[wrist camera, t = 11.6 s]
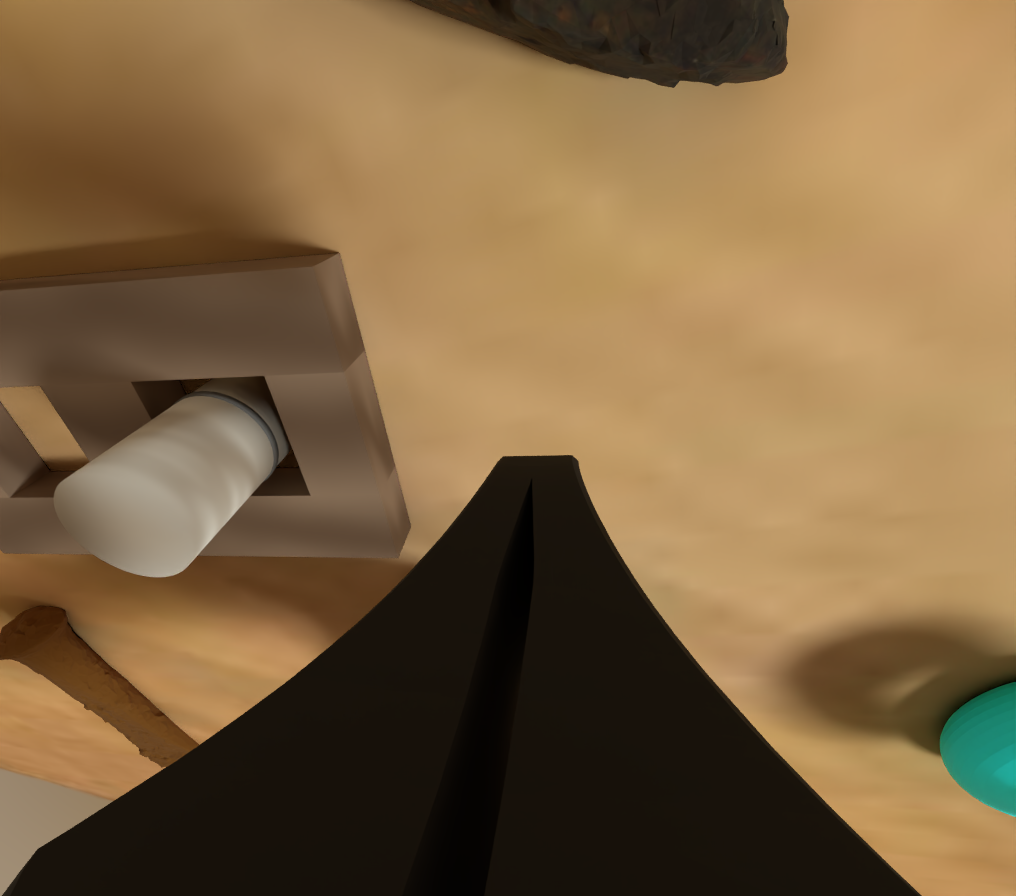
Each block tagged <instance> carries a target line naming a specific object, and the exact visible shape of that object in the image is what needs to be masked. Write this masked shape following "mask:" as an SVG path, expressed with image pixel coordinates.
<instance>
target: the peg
mask: <svg viewBox="0 0 1016 896" xmlns="http://www.w3.org/2000/svg"><path fill="white" fill-rule="evenodd" d="M291 450H292V446H291V444H290V441H289V439H288V436H287V433H286V431H285V428H284V426H283V423H282V421H281V418H280V415H279V413H278V410H277V408H276V405H275V403H274V400H273V397H272V395H271V392H270V390H269V387H268V385H267V382H266V379H265V377H264V376H249V377H227V378H213V379H211V380H210V381H208V382H207V383H205V384H204V385H202V386H201V387H199V388H198V389H196V390H195V391H194V392H192V393H189V394H187V395H185V396H183V397H182V398H181V399H179V400H178V401H176V402H175V403H174V404H173V405H172V406H171V407H170V408H169V409H167V410H166V411H164V412H163V413H161V414H160V415H158V416H157V417H155V418H154V419H152V420H151V421H149V422H148V423H146V424H145V425H144V426H142V427H141V428H139V429H138V430H136V431H135V432H133V433H132V434H130V435H129V436H127V437H126V438H124V439H123V440H122V441H120V442H119V443H117V444H116V445H114V446H113V447H111V448H110V449H108V450H107V451H105V452H104V453H102V454H101V455H99V456H98V457H97V458H95V459H94V460H92V461H91V462H89V463H88V464H86V465H85V466H83V467H82V468H80V469H79V470H77V471H76V472H74V473H73V474H72V475H70V476H69V477H67V478H66V479H64V480H63V481H62V482H60V484H59V485H58V486H57V488H56V490H55V492H54V507H55V511H56V513H57V516H58V518H59V520H60V521H61V523H62V525H63V526H64V527H65V529H66V530H67V531H68V533H69V534H70V535H71V536H72V537H73V538H74V539H75V540H76V541H77V542H78V543H79V544H80V545H81V546H83V547H84V548H85V549H86V550H88V551H89V552H90V553H92V554H93V555H95V556H96V557H98V558H99V559H101V560H103V561H104V562H106V563H108V564H110V565H112V566H114V567H116V568H119V569H121V570H124V571H127V572H130V573H133V574H137V575H141V576H148V577H168V576H173V575H176V574H178V573H180V572H182V571H183V570H184V569H186V568H187V567H188V566H189V564H190V563H191V562H192V561H193V560H194V559H195V558H196V557H197V555H198V554H199V553H200V552H201V551H202V550H203V549H204V547H205V546H206V545H207V544H208V543H209V542H210V541H211V540H212V538H213V537H214V536H215V535H216V534H217V533H218V532H219V531H220V529H221V528H222V527H223V526H224V525H225V524H226V523H227V522H228V520H229V519H230V518H231V517H232V516H233V515H234V514H235V513H236V511H237V510H238V509H239V508H240V507H241V506H242V505H243V504H244V502H245V501H246V500H247V499H248V498H249V497H250V496H251V495H252V493H253V492H254V491H255V490H256V489H257V488H258V487H259V486H260V484H261V483H262V482H264V481H265V480H266V479H268V477H269V476H270V475H271V474H272V473H273V472H274V470H275V468H276V467H277V465H278V464H279V463H280V462H281V461H282V460H283V459H284V457H285V456H286V455H287V454H288V453H289V452H290V451H291Z"/></svg>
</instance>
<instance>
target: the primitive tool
mask: <svg viewBox="0 0 1016 896" xmlns="http://www.w3.org/2000/svg"><path fill="white" fill-rule="evenodd" d="M4 659H12V660H15V661H18V662H20V663H22V664H24V665H26V666H28V667H29V668H31V669H32V670H33V671H34V672H36V673H38V674H41V675H43V676H44V677H46V678H47V679H48V680H50V681H51V682H52V683H54V684H55V685H57V686H58V687H59V688H61V689H62V690H63V691H65V692H66V693H67V694H69V695H70V696H71V697H72V698H74V699H75V700H77V701H79V702H80V703H82V704H84V705H85V706H84V708H85V709H87V710H91V711H93V712H94V713H95V714H96V715H98V716H100V717H101V718H102V719H103V720H104V721H105V722H109V723H110V724H111V725H112V726H113V727H115V728H116V729H117V730H118V731H119V732H121V733H123V734H124V735H125V737H126V738H127V739H128V740H129V741H131V742H132V743H133V744H135V745H136V746H137V747H138V748H139V751H140V754H141V755H142V756H144V757H149V759H150V760H151V761H153V762H155V763H157V764H159V765H160V766H161V767H168V766H169V765H171V764H172V763H174V762H175V761H177V760H178V759H180V758H181V757H183V756H184V755H186V754H187V753H188V752H190V751H191V750H193V749H194V748H196V747H197V746H199V744H198V743H197V742H195V741H194V740H193V739H192V738H191V737H189V736H188V735H187V734H186V733H185V732H184V731H182V730H181V729H180V728H179V727H178V726H177V725H175V724H174V723H173V722H172V721H171V720H170V719H169V718H168V717H167V716H166V715H165V714H163V713H162V712H161V711H160V710H159V709H157V708H156V707H155V706H154V705H153V704H152V703H151V702H150V701H149V700H148V699H147V698H146V697H145V696H144V695H143V694H141V693H140V692H139V691H138V690H137V689H136V688H135V687H133V686H132V684H130V683H129V682H128V681H127V680H126V679H125V678H124V677H123V676H122V675H120V674H119V673H118V672H117V671H116V670H114V669H113V668H111V667H110V666H109V665H108V664H107V663H106V662H104V661H103V660H102V658H101V657H100V656H98V655H97V654H96V653H95V652H94V651H93V650H92V649H91V648H90V647H88V646H87V645H86V643H85V642H84V641H83V640H81V639H80V638H78V637H77V636H76V635H75V634H74V632H73V631H72V630H71V627H70V625H68V624H67V617H66V612H65V610H63V609H60V608H57V607H46V606H38V607H35V608H32V609H29V610H26V611H24V612H22V613H20V614H19V615H18V616H17V617H16V618H15V619H14V620H12V621H11V622H9V623H8V624H7V625H5V626H4V627H3V628H2V630H1V633H0V660H4Z"/></svg>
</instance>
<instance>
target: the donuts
mask: <svg viewBox="0 0 1016 896" xmlns="http://www.w3.org/2000/svg"><path fill="white" fill-rule="evenodd" d="M940 753H941V756H942V759H943V762H944V765H945V766H946V768H947V770H948V772H949V773H950V775H951V776H952V777H953V778H954V780H955V781H956V782H957V783H958V784H959V785H960V786H961V787H962V788H963V789H964V790H965V791H967V792H968V793H969V794H970V795H972V796H973V797H975V798H976V799H978V800H979V801H981V802H982V803H984V804H986V805H988V806H990V807H992V808H994V809H996V810H999V811H1001V812H1004V813H1006V814H1009V815H1012V816H1015V817H1016V682H1012V683H1009V684H1005V685H1002V686H999V687H997V688H994V689H992V690H989V691H987V692H985V693H983V694H981V695H979V696H977V697H975V698H973V699H972V700H970V701H968V702H967V703H965V704H964V705H963V706H961V707H960V708H959V709H958V710H957V711H956V712H955V713H953V714H952V716H951V717H950V718H949V720H948V721H947V722H946V724H945V726H944V728H943V731H942V733H941V736H940Z"/></svg>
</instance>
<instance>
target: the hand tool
mask: <svg viewBox="0 0 1016 896" xmlns="http://www.w3.org/2000/svg"><path fill="white" fill-rule="evenodd" d="M410 1H412V2H414V3H416V4H418V5H421V6H423V7H426V8H428V9H431V10H434V11H436V12H439V13H441V14H444V15H447V16H449V17H452V18H455V19H457V20H460V21H463V22H465V23H468V24H471V25H474V26H476V27H479V28H481V29H484V30H486V31H489V32H492V33H495V34H498V35H499V36H503V37H506V38H510V39H513V40H516V41H519V42H521V43H523V44H525V45H527V46H529V47H531V48H533V49H535V50H537V51H539V52H541V53H543V54H545V55H547V56H550V57H552V58H555V59H558V60H560V61H563V62H566V63H568V64H577V65H580V66H584V67H587V68H590V69H594V70H597V71H601V72H604V73H607V74H611V75H615V76H619V77H623V78H627V79H628V78H629V77H632V78H638V79H646V80H648V81H651V82H653V83H656V84H658V85H661V86H667V87H672V88H674V87H675V86H676V85H677V83H678V82H679V81H691V82H703V83H709V84H712V85H715V86H718V85H720V84H722V83H742V82H751V81H759V80H765V79H767V78H769V77H772V76H776V75H778V74H781V73H782V72H783V71H784V70H785V68H786V66H787V64H788V62H787V58H786V46H787V27H788V19H789V16H788V14H787V12H786V9H785V7H784V1H783V0H410Z"/></svg>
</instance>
